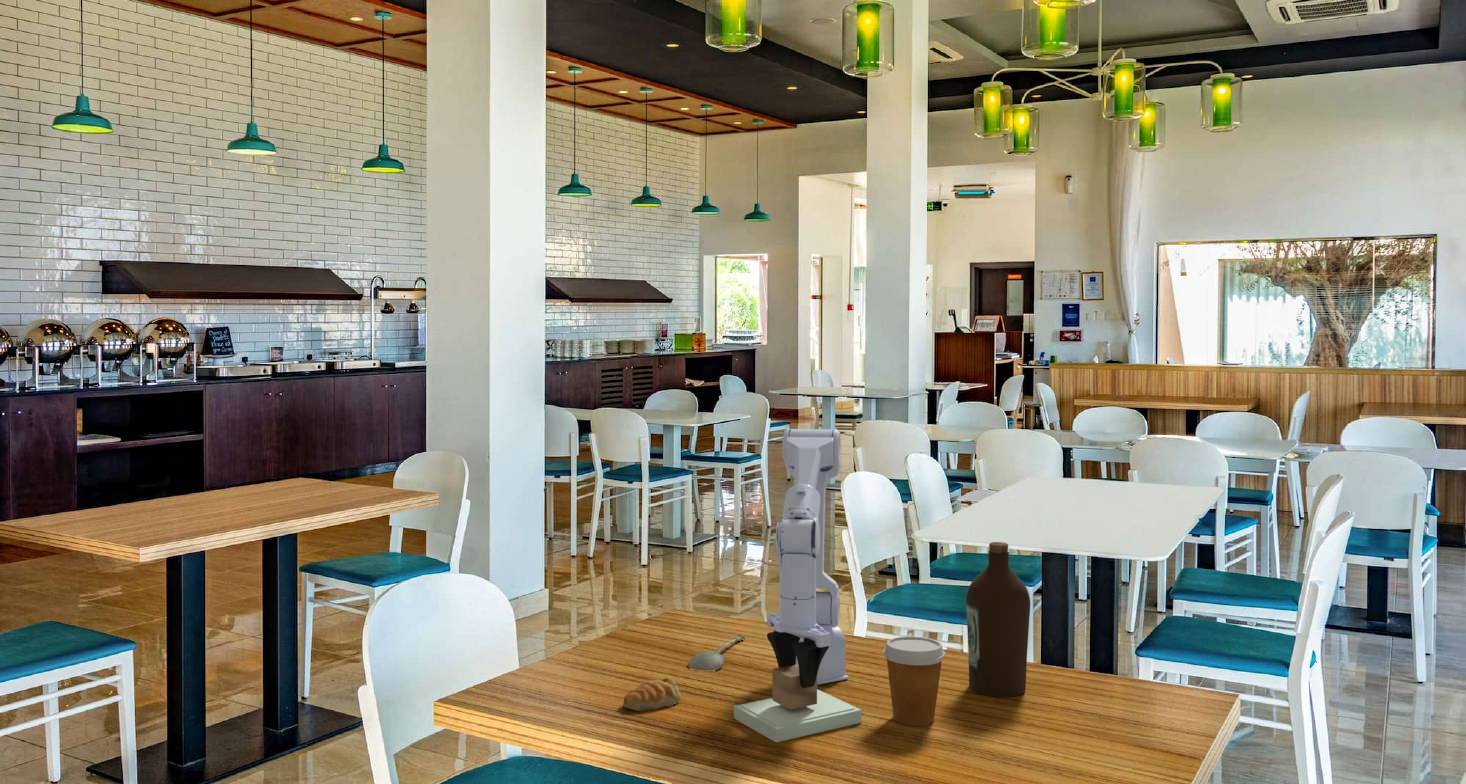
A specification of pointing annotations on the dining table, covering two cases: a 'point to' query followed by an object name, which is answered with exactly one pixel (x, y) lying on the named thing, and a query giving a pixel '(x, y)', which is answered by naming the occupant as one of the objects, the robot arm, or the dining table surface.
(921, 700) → the disposable coffee cup
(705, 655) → the soupspoon
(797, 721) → the serving board
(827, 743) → the dining table surface
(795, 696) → the walnut block
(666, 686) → the pastry
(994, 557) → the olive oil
